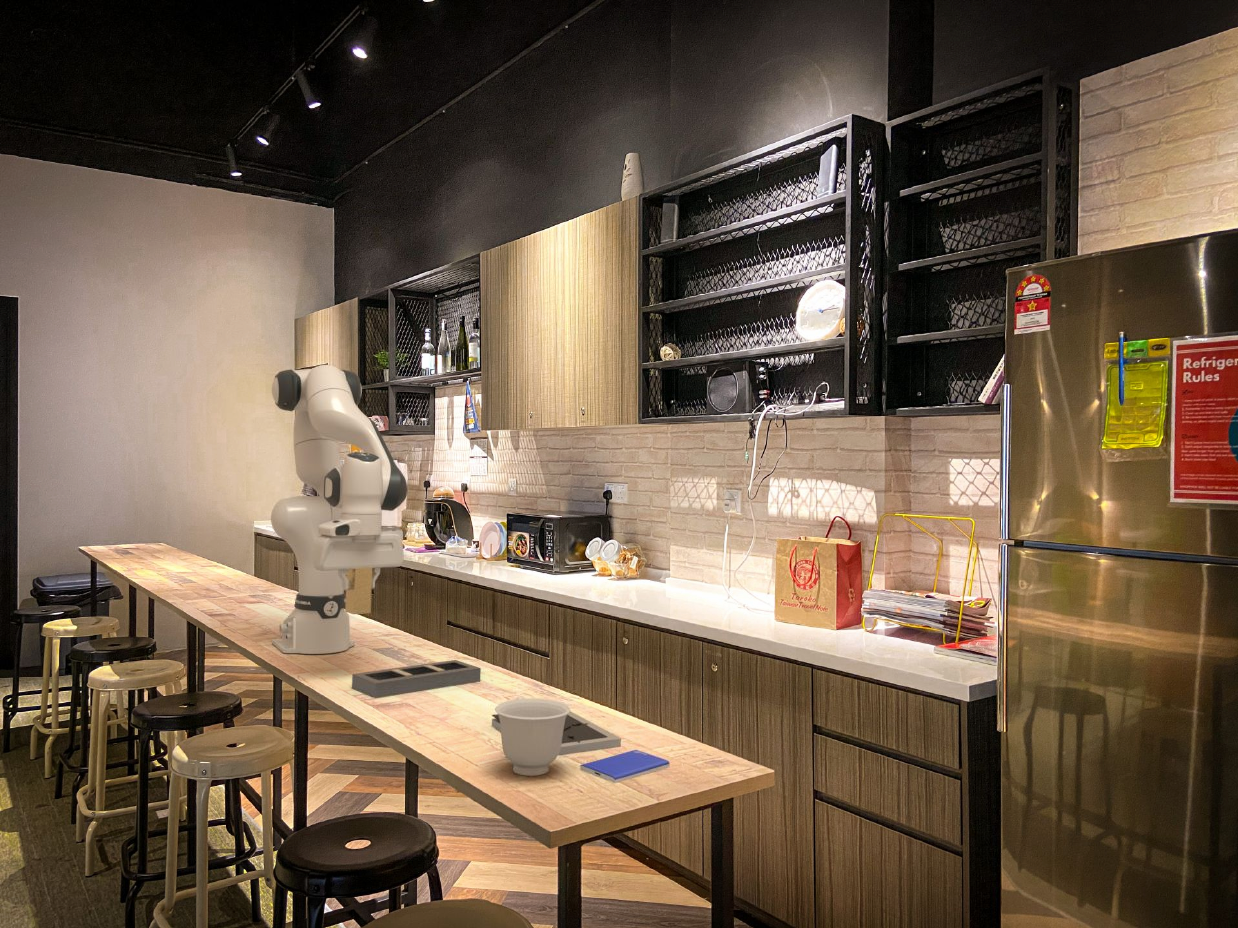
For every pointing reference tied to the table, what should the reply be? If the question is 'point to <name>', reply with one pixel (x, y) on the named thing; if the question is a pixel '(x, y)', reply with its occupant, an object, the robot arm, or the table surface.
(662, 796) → the table surface
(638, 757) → the hard drive
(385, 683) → the grey compartment tray
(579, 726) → the picture frame
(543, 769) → the teacup
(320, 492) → the robot arm
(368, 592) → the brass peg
